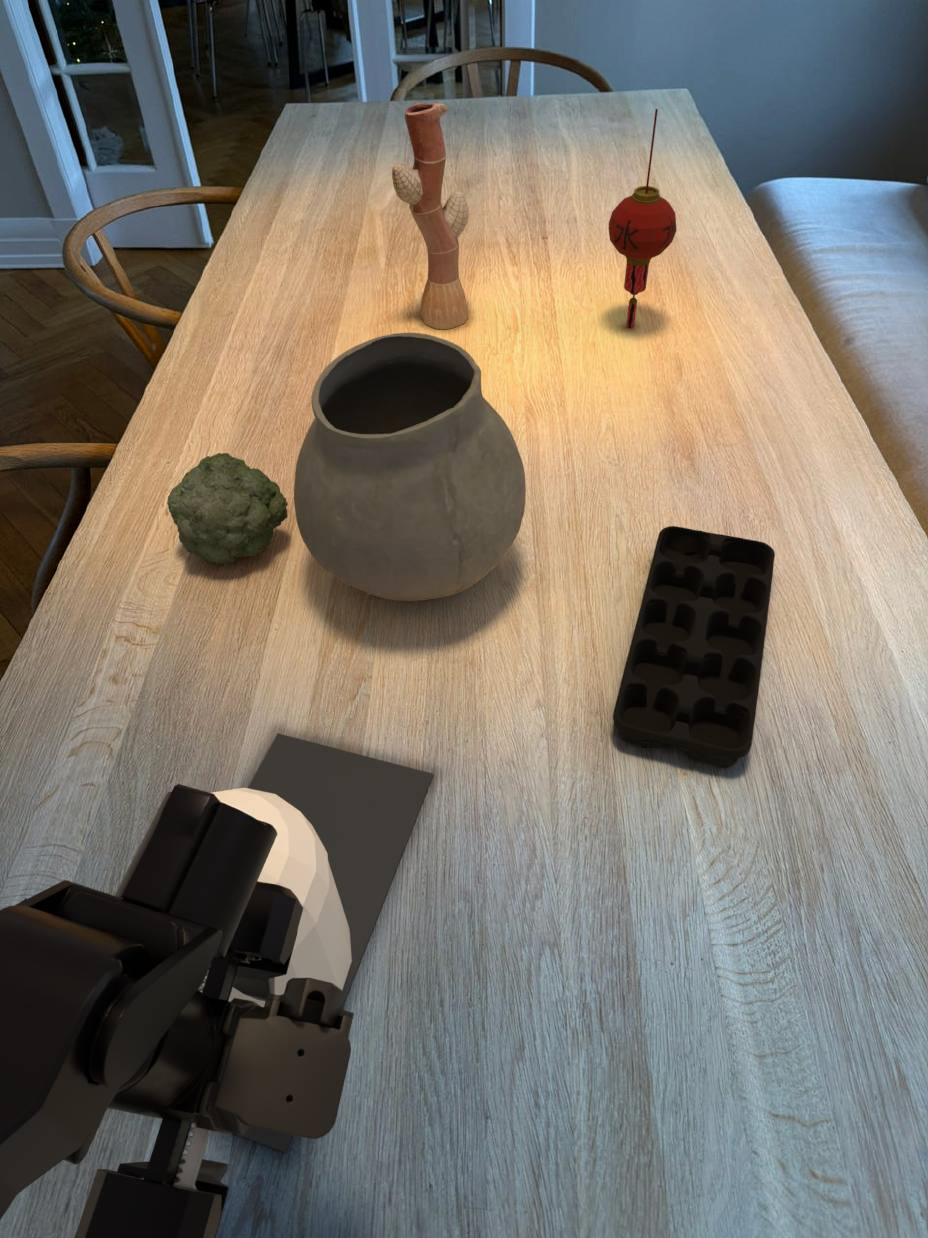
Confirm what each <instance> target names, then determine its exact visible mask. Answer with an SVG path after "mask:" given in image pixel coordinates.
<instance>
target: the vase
mask: <svg viewBox="0 0 928 1238" xmlns="http://www.w3.org/2000/svg"><path fill="white" fill-rule="evenodd" d="M447 112H448V108H447V106H446V105H445V104H444V103H437V102H434V103H418V102H417V103H415V104H413V105H410V106H409V107H408V108H406V110H405V112H404V120H405V125H406V127H407V131H408V136H409V140H410V144H411V147H412V153H413V166H412V167H410V166H408V165H406V164H403V163H395V164H394V165H393V167H392V170H391V178H392V185H393V189H394V191H395V194H396V197H398V199H400V201H401V202H404V203H407V204H409V210H410V213H411V215H412V218H413V220H414V222H415V224H416V226H417V228H418V230H419V231H420V234H421V236H422V238H423V240H424V243H425V246H426V251H427V278H426V282H425V285H424V288H423V292H422V296H421V300H420V317H421V319H422V321H423V323H424V324H425V326H428V327H430V328H432V329H435V330H449V329H454V328H455V329H456V328H458V327H460V326H462V325H464V324H465V323H466V321H467V320H468V319H469V308H468V302H467V296H466V294H465V290H464V287H463V284H462V282H461V278H460V272H459V269H460V268H459V259H460V244H459V239H458V238H459V237H460V236H461V235H462V233H463V232H464V231H465V229H466V226H467V224H468V221H469V207H468V203H467V199H466V197H465V195H464V193H462V192H461V191H453V193H452V194H450V196H448V198H447V200H446V201H445V202H444V205H443V204H442V192H443V191H442V190H443V183H444V177H445V167H446V160H447V153H446V145H445V139H444V136H443V131H442V126H441V122H440V120H441V117H443V116H444V115H445V114H447Z"/></svg>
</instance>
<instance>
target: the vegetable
mask: <svg viewBox="0 0 928 1238" xmlns="http://www.w3.org/2000/svg"><path fill="white" fill-rule="evenodd" d="M166 504H167V508H168V512H169V513H170V516H171V518H172V520H173V523H174V524H175V525H176V527H177V532H178V539H179V543H181V544H182V547H183V548H184V550H185V551H187V552H188V553H189V554H193V555H194V556H197V557H198V558H199V559H202V560H204V561H205V562H208V563H215V564H217V565H219V564H221V565H232V564H236V562H237V559H238V558H241V557H242V558H243V557H257V556H258V555H259V554H263V553H265V552H266V551H267V550H268V547H269V546H270V545H271V542H272V540H273V539H274V530H275V529H276V528H278V527H280V526H281V525H282V523H283V522H284V521H285V520H286V519H287V518H288V509H287V506H288V505H289V504H288V501H287V498H286V497H284V495H283V493H281V489H280V486H279V484H278V483H277V482H276V481H273V480H271V479H270V478H269V477H268V475H266V474H265V473H264V472H263V471H262V470H260V468H251V467H250V466H248V465H247V464H246V462H245V459H241V458H237V457H235V456H234V457H233V456H232V455H231V454H229V453H228V452H226V453H225V452H224V453H222V452H218V453H216V454H214V455H211V456H209V455H207V456H205V457H203V458H202V459H201V460H200V461H199V462H198V464H197V465H196V466H194V467H193V468H191V469H190V470H189V471H188V472H186V473H185V474H184V475H183V477H182V478H181V481H180V482H179V483H177V484H176V486H174V487H173V488H172V489H171V491H170V492H169V495H167V502H166Z"/></svg>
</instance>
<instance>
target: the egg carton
mask: <svg viewBox="0 0 928 1238" xmlns="http://www.w3.org/2000/svg"><path fill="white" fill-rule="evenodd" d="M656 539H657V540H656V544H655V548H654V552H653V556H652V560H651V562H650V567H649V571H648V575H647V580H646V584H645V587H644V592H643V595H642V599H641V603H640V607H639V610H638V611H639V612H638V615H637V619H636V623H635V625H634V626H635V627H634V630H633V634H632V637H631V638H632V639H631V642H630V647H629V650H628V652H627V653H628V654H627V657H626V660H625V661H626V662H625V665H624V669H623V672H622V676H621V679H620V680H621V681H620V685H619V689H618V692H617V696H616V701H615V705H614V709H613V713H612V720H613V726H614V728H615V729H616V730H617V734H618V736H619V739H621V740H622V742H624V743H627V744H629V745H631V746H635V747H641V748H643V749H660V748H662V747H664V746H667V745H672V746H674V747H675V748H674V749H677V750H681V751H684V752H685V753H686V755H687V757H689V759H690V760H692V761H694V762H697V763H701V764H705V765H709V766H713V767H716V768H725V769H726V768H730V767H732V766H735V765H736V764H737V763H738V761H739V759H742V758H744V757H746V756H747V755H748V754H749V753H750V750H751V747H752V743H753V737H754V729H755V722H756V721H755V720H756V714H757V713H756V712H757V706H758V705H757V704H758V697H759V688H760V682H761V674H762V673H761V672H762V665H763V659H764V658H763V657H764V649H765V642H766V633H767V623H768V615H769V608H770V600H771V592H772V585H773V584H772V583H773V574H774V567H775V558H776V553H775V550H774V548H773V547H772V546H771V545H770V544H768V543H766V542H763V541H759V540H755V539H749V538H743V537H739V536H737V537H736V536H733V535H727V534H721V533H720V534H719V533H715V532H709V531H708V532H707V531H703V530H698V529H693V528H688V527H683V526H678V525H670V526H669V525H668V526H666V527H664V528H662V529H661V530H660V531H659V533H658V536H657V538H656Z"/></svg>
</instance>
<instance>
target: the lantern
mask: <svg viewBox="0 0 928 1238" xmlns="http://www.w3.org/2000/svg"><path fill="white" fill-rule="evenodd" d="M658 111H659V109H658V108H655V110H654V118H653V126H652V136H651V143H650V151H649V160H648V168H647V178H646V183H645V184H646V185H641V186H637V187H635V189H634V190H633V193H632V194H631V195H629V196H627V197H624V198H623V199H622V200H621V201H620V202H619V203H618V204H617V205H616V207H615V208H614V209H613V210H612V211H611V214H610V216H609V221H608V236H609V242H610V243H611V244H612V245H613V247H614V248H615V250H616V251H617V252H618V253H619V254H620V255H622V256H624V257H625V258H626V263H625V274H624V282H623V288H624V291H626V292H628V293H629V294H630V295H632V297H631V298H630V299H629V300H628V306H627V307H628V308H627V317H626V323H625V324H626V325H625V326H626V328H627V329H628V330H629V329H630V330H632V329H634V328H635V322H636V314H637V308H638V299H637V298H636V296H637V295H639V294H640V293H642V292H645V291H646V289H647V282H648V277H649V276H648V274H649V267H650V263H651V260H652V259H654V258H655V257H657V256H658V257H659V256H660V255H661V254H663V253H664V251H665V250H667V248H669V247H670V245H672V243H673V241H674V238H675V237H676V233H677V216H676V212H675V210H674V207H672V205H671V203H670V202H669V201H668V200H667V199H666V198H664V197H662V196H661V194H660V190H659V189H658V187H655V186H651V185H649V184H650V183H649V182H650V176H651V169H652V159H653V151H654V143H655V135H656V126H657V119H658Z"/></svg>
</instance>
